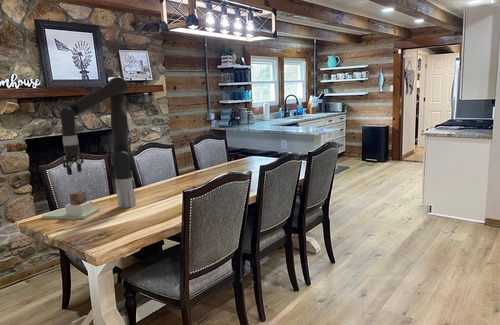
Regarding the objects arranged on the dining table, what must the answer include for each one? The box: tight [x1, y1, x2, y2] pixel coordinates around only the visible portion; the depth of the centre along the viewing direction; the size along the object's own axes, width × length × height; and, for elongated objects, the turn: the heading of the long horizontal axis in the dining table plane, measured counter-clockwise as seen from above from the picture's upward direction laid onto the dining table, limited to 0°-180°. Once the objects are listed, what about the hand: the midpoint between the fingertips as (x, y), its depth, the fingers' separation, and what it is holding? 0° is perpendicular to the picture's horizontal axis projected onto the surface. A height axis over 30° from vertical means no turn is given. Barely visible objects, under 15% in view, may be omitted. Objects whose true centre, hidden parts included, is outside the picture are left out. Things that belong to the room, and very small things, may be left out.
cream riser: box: [64, 200, 94, 215], centre depth 213 cm, size 10×10×5 cm
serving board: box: [41, 208, 100, 220], centre depth 214 cm, size 26×14×2 cm, turn 80°
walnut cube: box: [69, 191, 88, 205], centre depth 212 cm, size 6×6×6 cm
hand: (74, 173), depth 210 cm, fingers open, 8 cm apart
